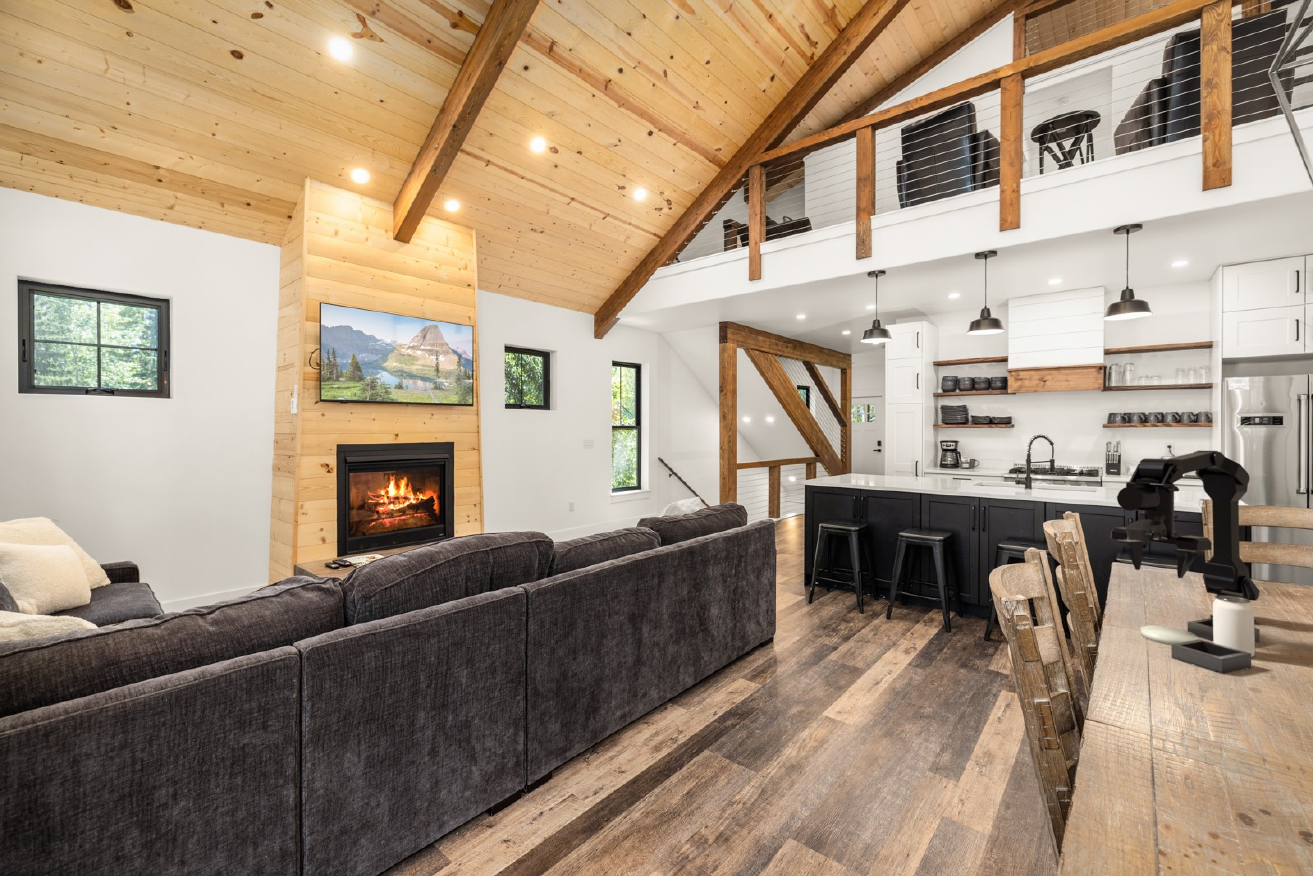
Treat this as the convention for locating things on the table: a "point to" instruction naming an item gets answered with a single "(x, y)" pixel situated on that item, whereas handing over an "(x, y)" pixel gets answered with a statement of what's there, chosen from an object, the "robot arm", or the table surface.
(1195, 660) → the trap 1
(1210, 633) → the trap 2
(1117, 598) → the table surface
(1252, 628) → the can
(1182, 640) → the pad
